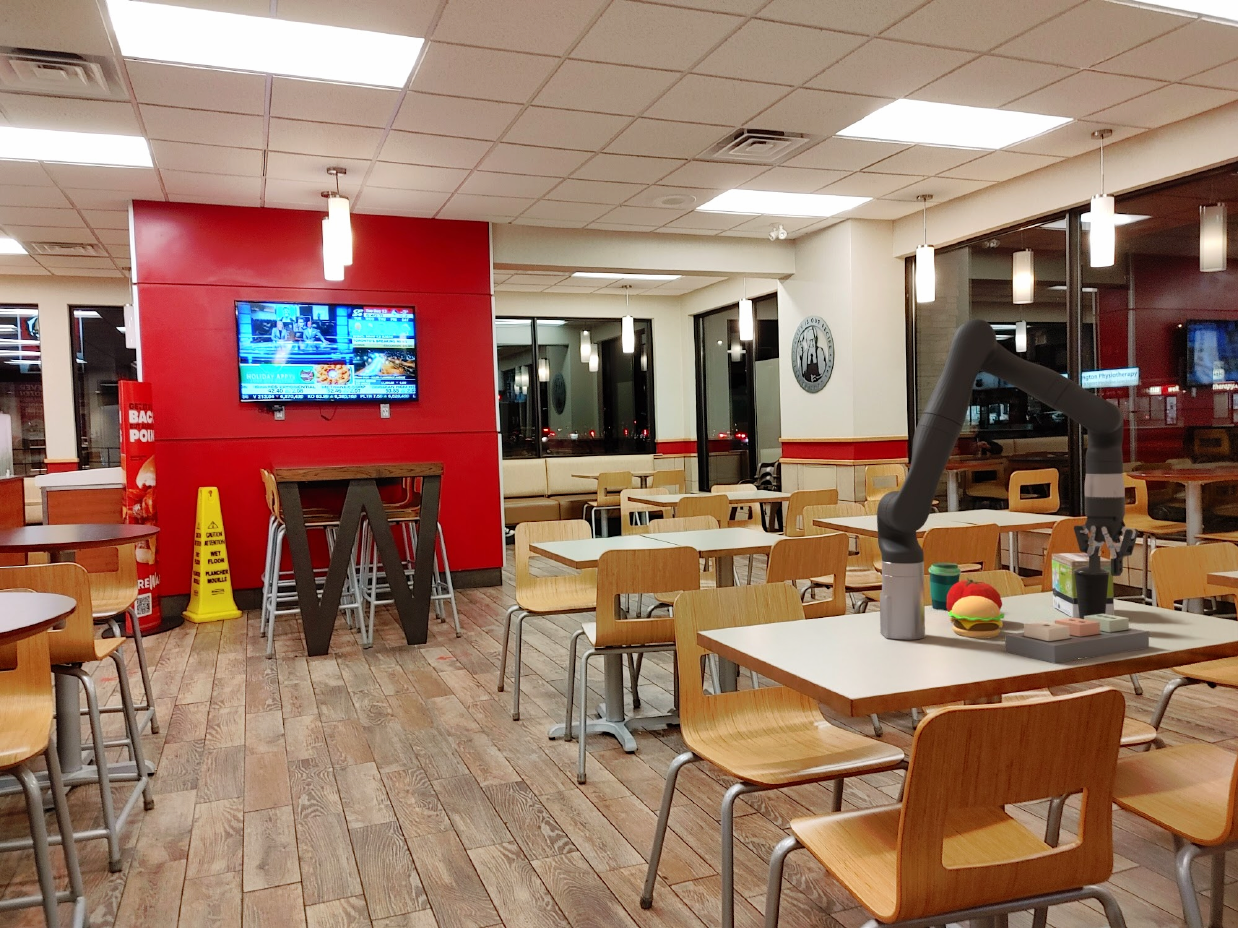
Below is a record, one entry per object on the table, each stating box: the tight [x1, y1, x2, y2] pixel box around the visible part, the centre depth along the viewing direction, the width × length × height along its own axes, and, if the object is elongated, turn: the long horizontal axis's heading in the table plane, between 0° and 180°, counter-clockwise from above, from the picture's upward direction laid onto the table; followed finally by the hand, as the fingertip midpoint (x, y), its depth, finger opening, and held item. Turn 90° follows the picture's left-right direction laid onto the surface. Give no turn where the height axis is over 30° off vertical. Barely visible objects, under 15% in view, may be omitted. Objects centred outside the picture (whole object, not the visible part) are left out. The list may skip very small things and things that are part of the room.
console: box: [1004, 627, 1150, 664], centre depth 185 cm, size 28×12×4 cm, turn 114°
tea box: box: [1051, 552, 1115, 619], centre depth 225 cm, size 15×10×15 cm, turn 172°
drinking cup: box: [1073, 565, 1110, 619], centre depth 206 cm, size 8×8×20 cm
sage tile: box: [1084, 614, 1130, 632], centre depth 189 cm, size 6×6×2 cm
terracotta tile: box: [1054, 617, 1100, 637], centre depth 185 cm, size 6×6×2 cm
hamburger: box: [947, 596, 1005, 639], centre depth 203 cm, size 12×12×9 cm
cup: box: [928, 562, 962, 611], centre depth 235 cm, size 8×8×12 cm
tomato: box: [947, 577, 1003, 613], centre depth 216 cm, size 13×12×11 cm
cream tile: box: [1023, 621, 1070, 641], centre depth 182 cm, size 6×6×2 cm
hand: (1105, 573), depth 189 cm, fingers open, 4 cm apart
